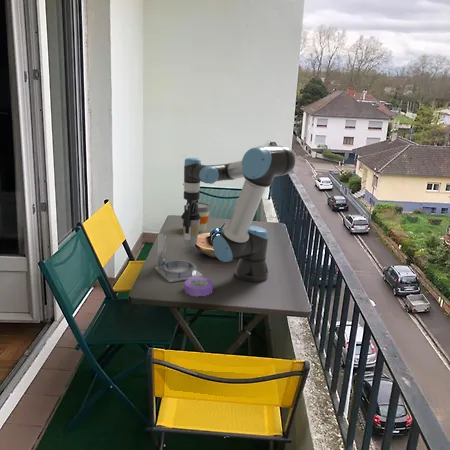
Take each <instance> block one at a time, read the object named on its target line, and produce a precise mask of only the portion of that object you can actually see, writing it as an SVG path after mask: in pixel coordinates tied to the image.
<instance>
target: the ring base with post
mask: <svg viewBox="0 0 450 450" xmlns="http://www.w3.org/2000/svg"><path fill="white" fill-rule="evenodd" d="M166 247H167V234H166V233H158V234H157V260H156V261H157V262H156V263H157V264H156V265H157V266H155V270H156V271H157V272H158V273H159V274H160V275H161V276H162V277H163V278H164V279H165V280H167V282H169V283H174V282H175V283H176V282H180V281H186V280H188V279H190V278H195V277H202V278H203V274H202V273H201V272H199V271H198V270H197V265H196V264H194V263H193V262H192V261H190V260H184V259H173V260H166V257H167V256H166V254H167V253H166V252H167V251H166V250H167V248H166Z"/></svg>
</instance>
